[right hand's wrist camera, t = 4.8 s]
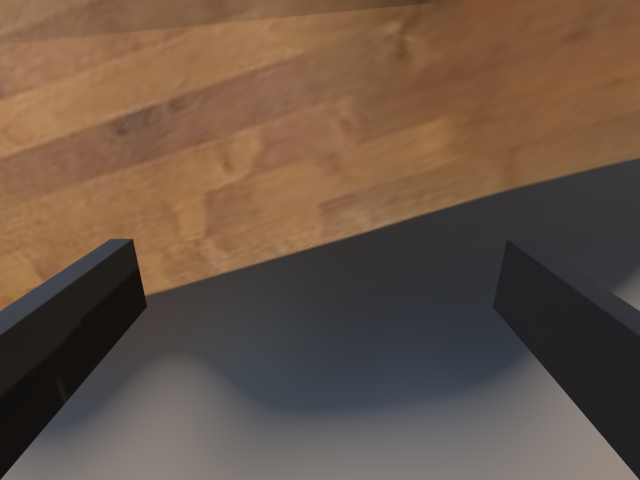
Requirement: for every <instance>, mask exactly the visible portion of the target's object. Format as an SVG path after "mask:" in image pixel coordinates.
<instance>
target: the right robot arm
mask: <svg viewBox="0 0 640 480" xmlns="http://www.w3.org/2000/svg"><path fill="white" fill-rule="evenodd" d="M146 307H147V305H146V300H145V295H144V290H143V285H142V281H141V276H140V271H139V266H138V262H137V257H136V252H135V247H134V243H133V239H110V240H109V241H107V242H105V243H104V244H102V245H101V246H99V247H98V248H96V249H95V250H93V251H92V252H90V253H89V254H87V255H86V256H84V257H82V258H81V259H79V260H78V261H76V262H75V263H73V264H72V265H70V266H69V267H67V268H66V269H64V270H63V271H61V272H60V273H58V274H56V275H55V276H53V277H52V278H50V279H49V280H47V281H46V282H44V283H43V284H41V285H40V286H38V287H37V288H35V289H33V290H32V291H30V292H29V293H27V294H26V295H24V296H23V297H21V298H20V299H18V300H17V301H15V302H14V303H12V304H10V305H9V306H7V307H6V308H4V309H3V310H1V311H0V480H1V478H2V477H3V476H4V475H5V474H6V473H7V471H8V470H9V469H10V468H11V467H12V465H13V464H14V463H15V462H16V461H17V460H18V458H19V457H20V456H21V455H22V454H23V452H24V451H25V450H26V449H27V448H28V447H29V445H30V444H31V443H32V442H33V441H34V439H35V438H36V437H37V436H38V435H39V434H40V432H41V431H42V430H43V429H44V428H45V426H46V425H47V424H48V423H49V422H50V421H51V419H52V418H53V417H54V416H55V415H56V414H57V412H58V411H59V410H60V409H61V408H62V406H63V405H64V404H65V403H66V402H67V400H68V399H69V398H70V397H71V396H72V395H73V393H74V392H75V391H76V390H77V389H78V387H79V386H80V385H81V384H82V383H83V382H84V380H85V379H86V378H87V377H88V376H89V375H90V373H91V372H92V371H93V370H94V369H95V367H96V366H97V365H98V364H99V363H100V362H101V360H102V359H103V358H104V357H105V356H106V354H107V353H108V352H109V351H110V350H111V349H112V347H113V346H114V345H115V344H116V343H117V341H118V340H119V339H120V338H121V337H122V336H123V334H124V333H125V332H126V331H127V330H128V329H129V327H130V326H131V325H132V324H133V323H134V321H135V320H136V319H137V318H138V317H139V316H140V314H141V313H142V312H143V311H144V310H145V308H146ZM493 307H494V308H495V310H496V311H497V312H498V313H499V314H500V316H501V317H502V318H503V319H504V320H505V321H506V323H507V324H508V325H509V326H510V327H511V328H512V330H513V331H514V332H515V333H516V334H517V336H518V337H519V338H520V339H521V340H522V341H523V343H524V344H525V345H526V346H527V347H528V348H529V350H530V351H531V352H532V353H533V354H534V356H535V357H536V358H537V359H538V360H539V362H540V363H541V364H542V365H543V366H544V367H545V369H546V370H547V371H548V372H549V373H550V374H551V376H552V377H553V378H554V379H555V380H556V382H557V383H558V384H559V385H560V386H561V387H562V389H563V390H564V391H565V392H566V393H567V395H568V396H569V397H570V398H571V399H572V400H573V402H574V403H575V404H576V405H577V406H578V408H579V409H580V410H581V411H582V412H583V414H584V415H585V416H586V417H587V418H588V419H589V421H590V422H591V423H592V424H593V425H594V426H595V428H596V429H597V430H598V431H599V432H600V434H601V435H602V436H603V437H604V438H605V439H606V441H607V442H608V443H609V444H610V445H611V447H612V448H613V449H614V450H615V451H616V452H617V454H618V455H619V456H620V457H621V458H622V460H623V461H624V462H625V463H626V464H627V465H628V467H629V468H630V469H631V470H632V471H633V473H634V474H635V475H636V476H637V477H638V478H639V480H640V311H639V310H637V309H636V308H634V307H633V306H631V305H630V304H628V303H626V302H625V301H623V300H622V299H620V298H619V297H617V296H616V295H614V294H613V293H611V292H610V291H608V290H607V289H605V288H603V287H602V286H600V285H599V284H597V283H596V282H594V281H593V280H591V279H590V278H588V277H587V276H585V275H584V274H582V273H580V272H579V271H577V270H576V269H574V268H573V267H571V266H570V265H568V264H567V263H565V262H564V261H562V260H561V259H559V258H557V257H556V256H554V255H553V254H551V253H550V252H548V251H547V250H545V249H544V248H542V247H541V246H539V245H538V244H536V243H535V242H533V241H531V240H530V239H507V243H506V247H505V252H504V257H503V262H502V266H501V271H500V276H499V281H498V286H497V290H496V295H495V300H494V304H493Z"/></svg>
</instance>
